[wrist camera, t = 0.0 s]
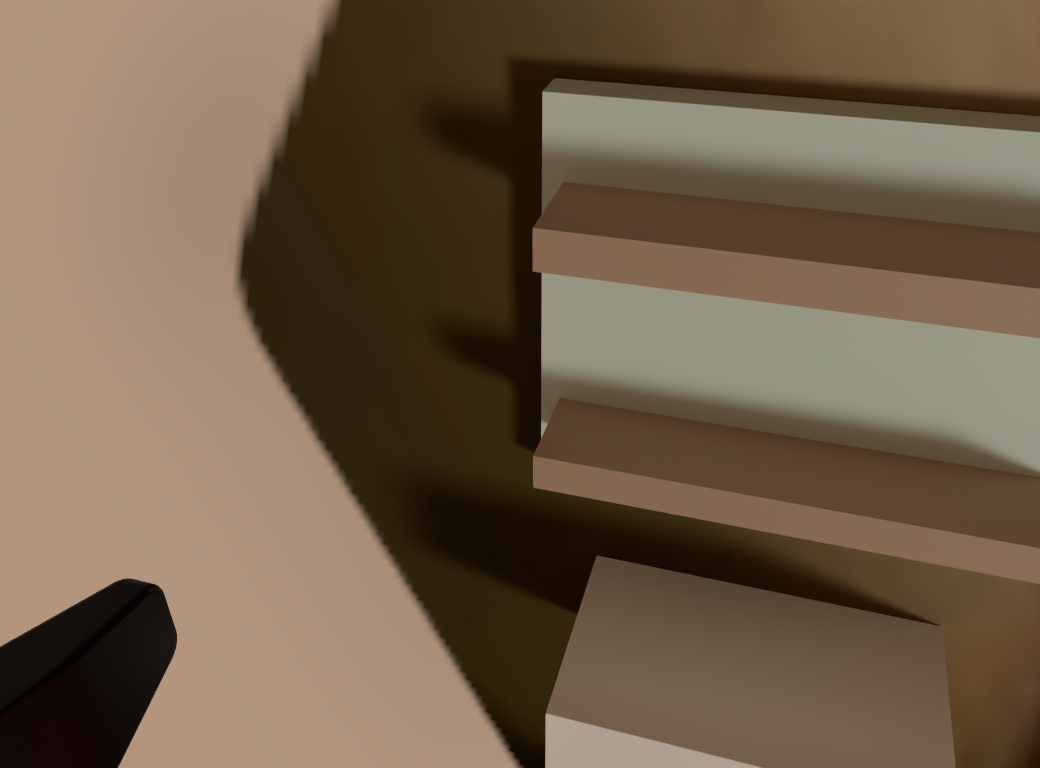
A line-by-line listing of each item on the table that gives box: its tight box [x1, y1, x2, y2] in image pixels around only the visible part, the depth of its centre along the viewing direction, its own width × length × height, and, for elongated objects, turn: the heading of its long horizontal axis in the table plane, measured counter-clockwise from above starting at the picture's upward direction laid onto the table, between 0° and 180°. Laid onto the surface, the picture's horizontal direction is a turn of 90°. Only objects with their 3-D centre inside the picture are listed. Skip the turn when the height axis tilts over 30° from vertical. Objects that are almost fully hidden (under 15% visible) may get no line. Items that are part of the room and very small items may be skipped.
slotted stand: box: [533, 78, 1040, 584], centre depth 21 cm, size 11×13×4 cm
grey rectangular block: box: [545, 556, 955, 768], centre depth 26 cm, size 3×10×6 cm, turn 91°
